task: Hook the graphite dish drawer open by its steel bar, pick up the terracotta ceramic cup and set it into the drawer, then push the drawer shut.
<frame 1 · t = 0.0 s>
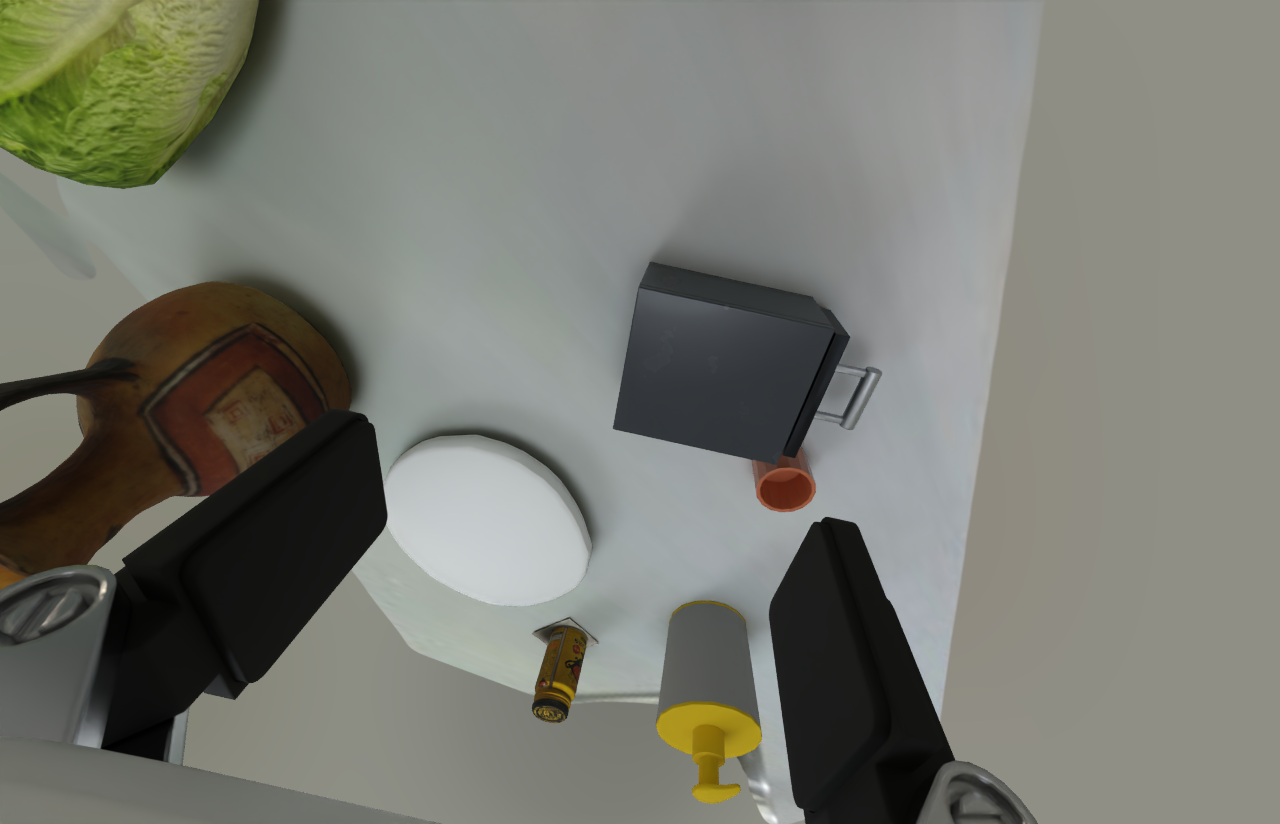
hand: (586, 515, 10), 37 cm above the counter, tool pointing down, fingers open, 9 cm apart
dark gray drawer box: (712, 345, 46), on the counter
lettuce: (193, 47, 39), on the counter
cup: (778, 460, 53), on the counter
condiment: (565, 635, 75), on the counter
dish drawer: (762, 373, 43), point 4 cm above the counter, slide at 0.5 cm
ceramic pitcher: (288, 358, 54), on the counter
soap bottle: (707, 624, 69), on the counter
plate: (496, 510, 62), on the counter
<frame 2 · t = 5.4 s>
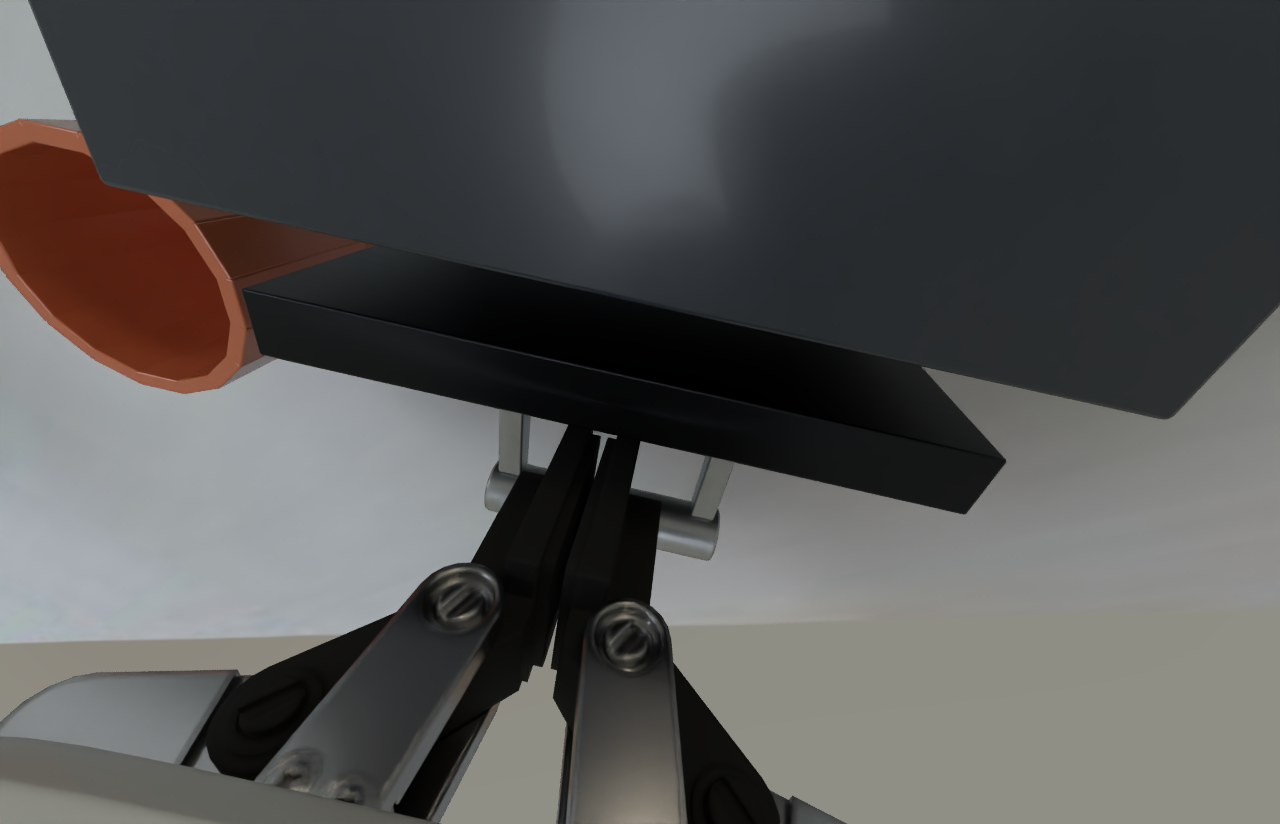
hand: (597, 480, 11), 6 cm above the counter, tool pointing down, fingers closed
cup: (290, 235, 15), on the counter
dish drawer: (681, 112, 8), point 4 cm above the counter, slide at 1.5 cm, touching gripper
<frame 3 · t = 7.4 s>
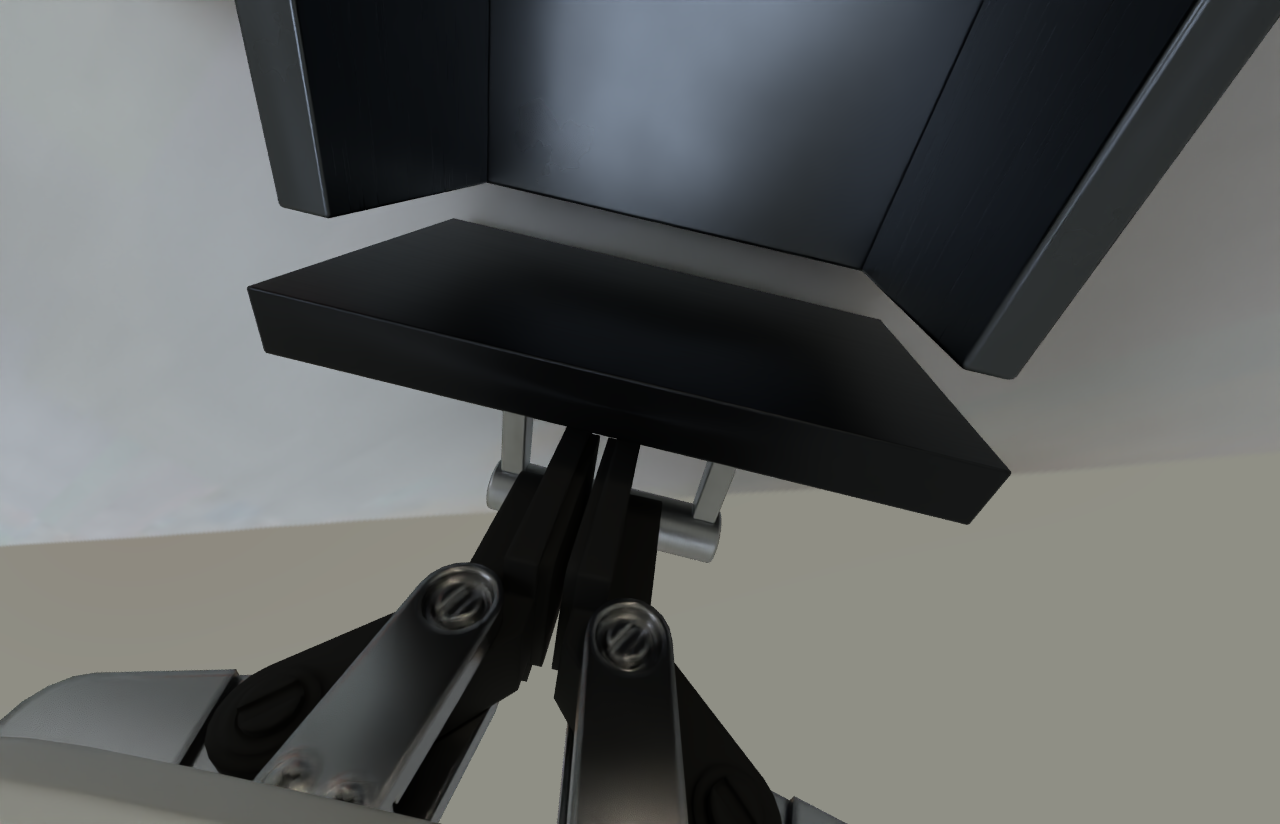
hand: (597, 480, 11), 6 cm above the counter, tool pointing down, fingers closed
dish drawer: (691, 114, 8), point 4 cm above the counter, slide at 10.3 cm, touching gripper
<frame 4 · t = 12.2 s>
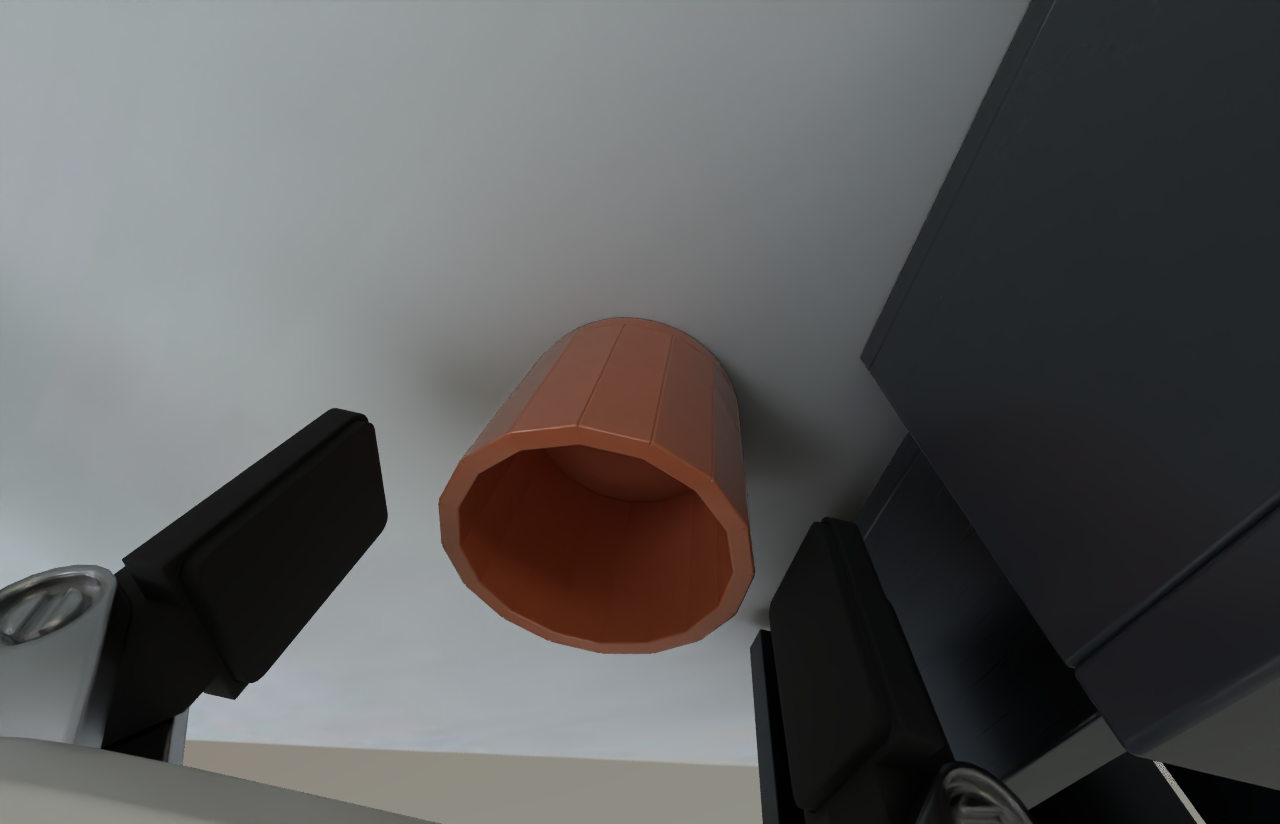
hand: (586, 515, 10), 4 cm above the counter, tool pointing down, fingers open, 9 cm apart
cup: (632, 417, 13), on the counter
dish drawer: (1078, 731, 11), point 4 cm above the counter, slide at 9.8 cm, touching gripper
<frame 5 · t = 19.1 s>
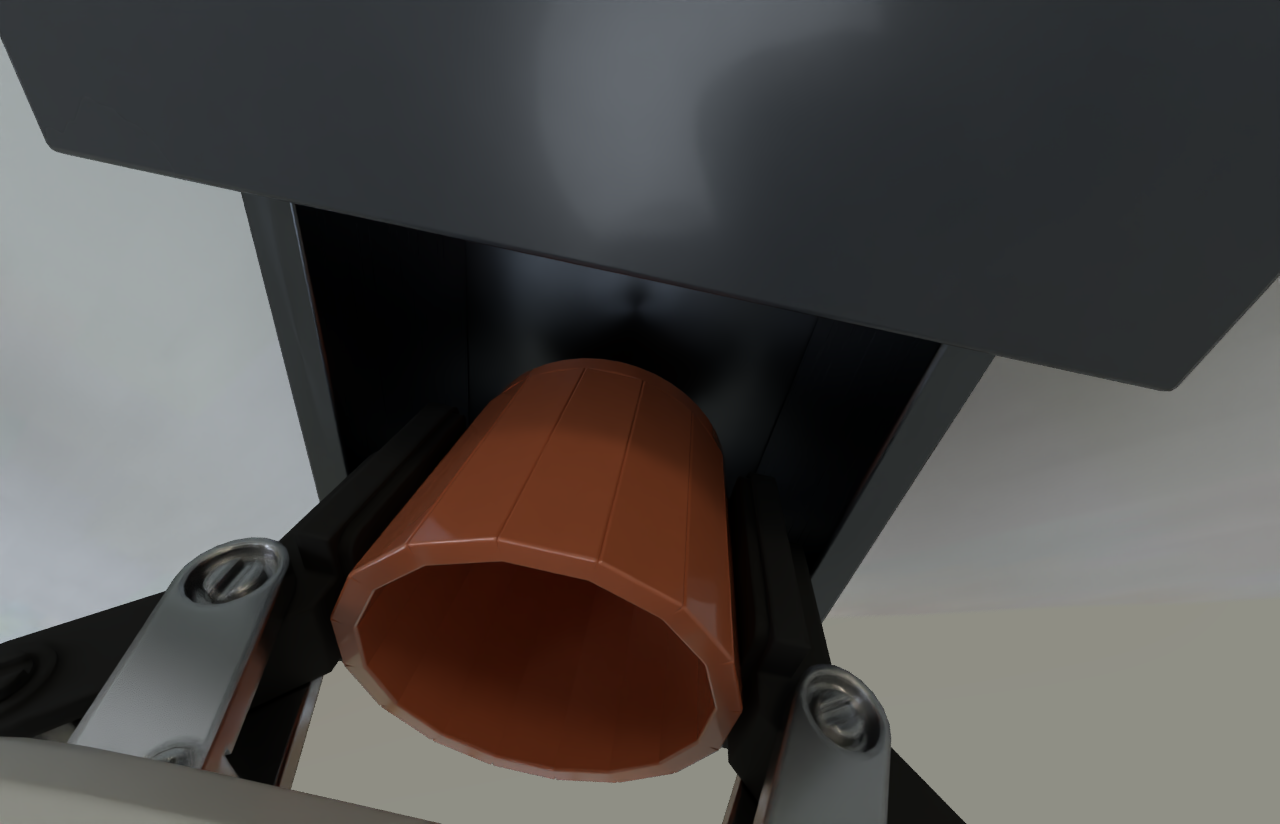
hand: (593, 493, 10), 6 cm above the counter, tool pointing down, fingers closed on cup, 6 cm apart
cup: (600, 470, 11), point 5 cm above the counter, touching gripper
dish drawer: (601, 466, 12), point 4 cm above the counter, slide at 9.9 cm, touching gripper
when the fingers open (8 cm above the counter, at t = 35.4 s): cup drops 5 cm, resting on dish drawer.
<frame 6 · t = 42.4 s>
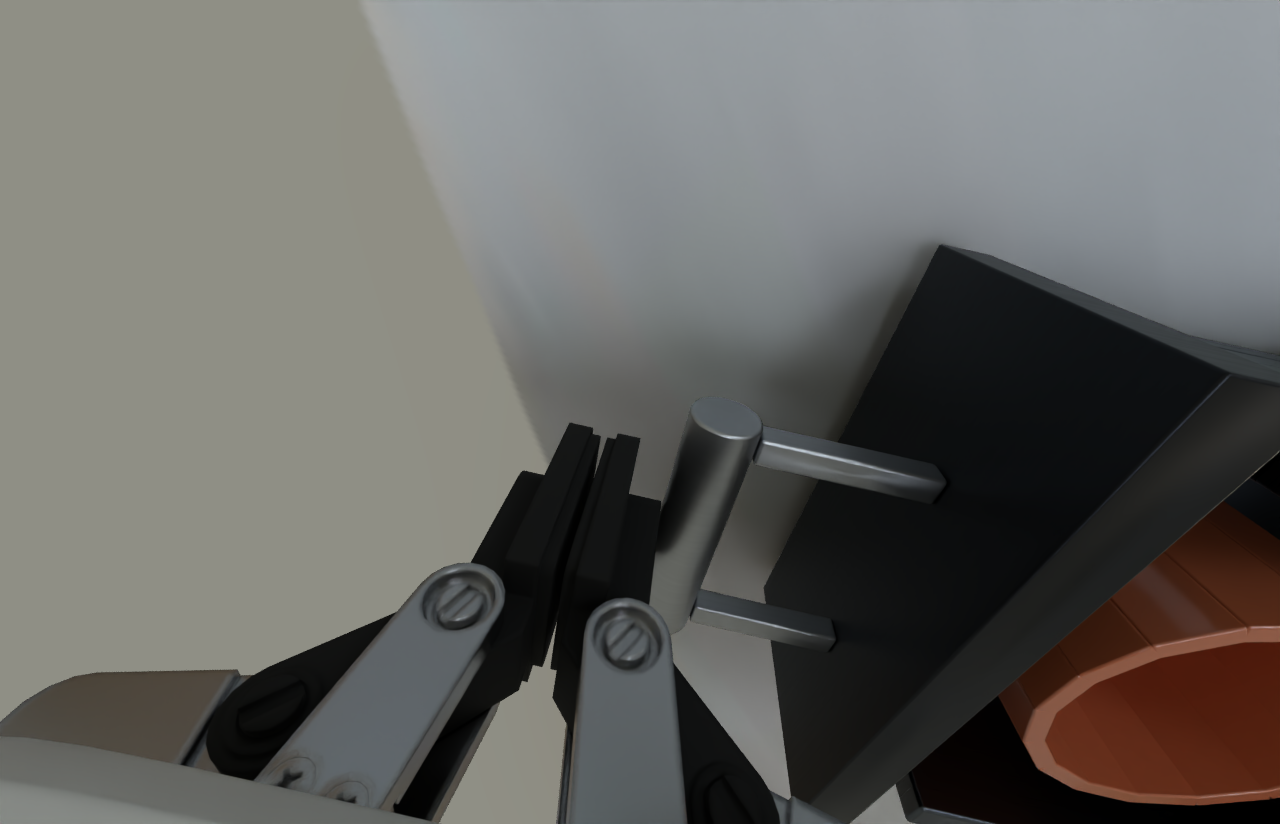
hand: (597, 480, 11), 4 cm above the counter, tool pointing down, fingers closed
cup: (1039, 525, 13), point 2 cm above the counter, touching dish drawer
dish drawer: (1063, 586, 11), point 4 cm above the counter, slide at 9.0 cm, touching cup, gripper
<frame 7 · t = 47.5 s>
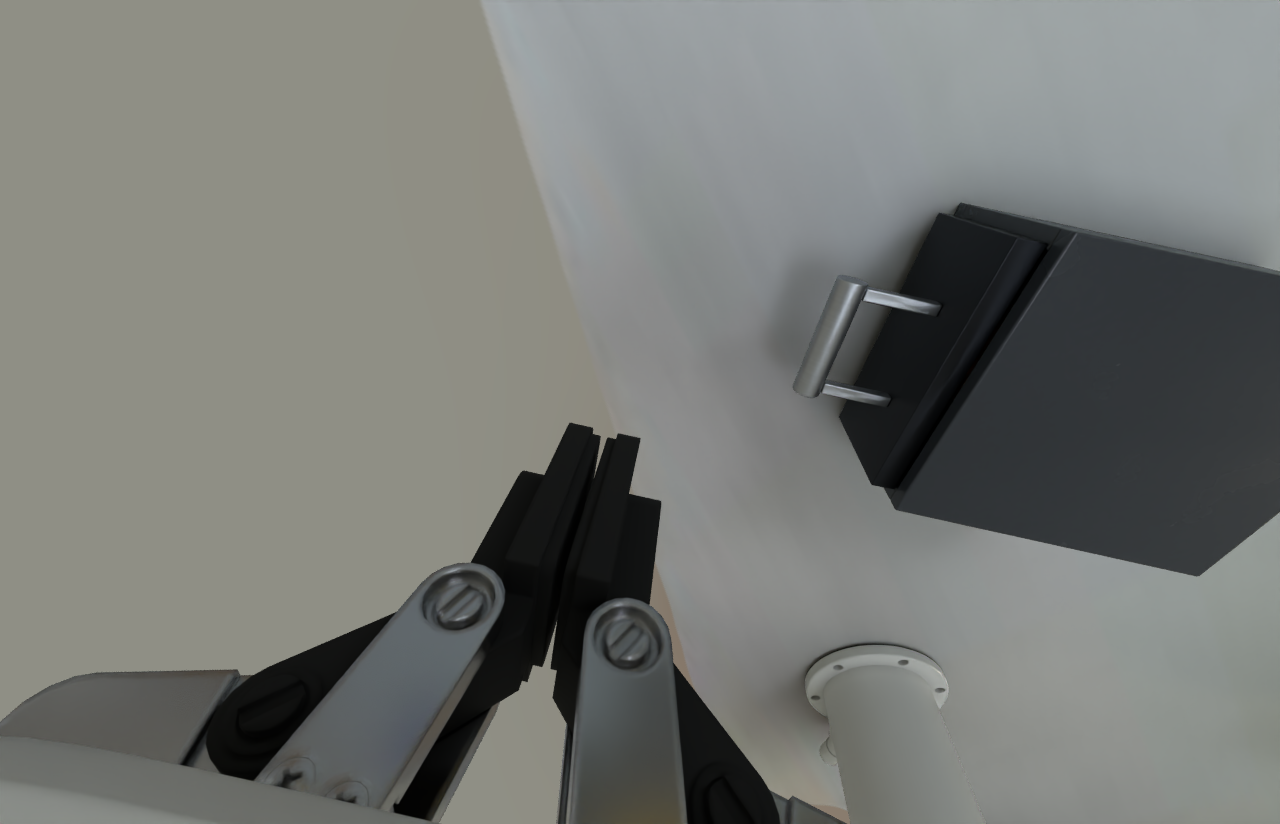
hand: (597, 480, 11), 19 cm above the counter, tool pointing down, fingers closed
dark gray drawer box: (1027, 354, 27), on the counter
cup: (990, 356, 25), point 2 cm above the counter, touching dish drawer
dish drawer: (997, 370, 23), point 4 cm above the counter, slide at 0.0 cm, touching cup
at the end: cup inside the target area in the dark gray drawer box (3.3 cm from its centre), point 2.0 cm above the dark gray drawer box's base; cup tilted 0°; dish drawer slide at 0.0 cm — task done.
